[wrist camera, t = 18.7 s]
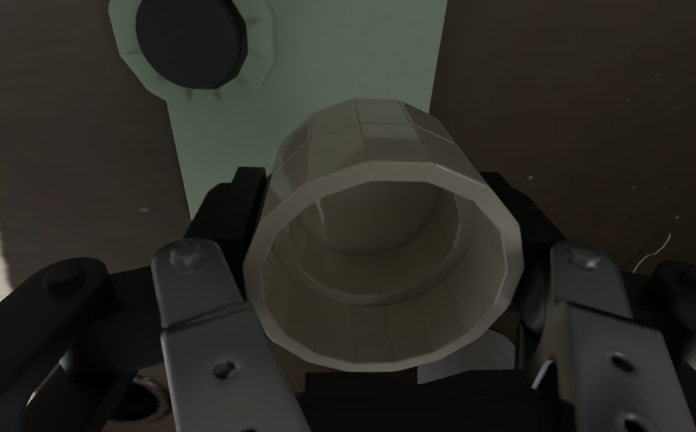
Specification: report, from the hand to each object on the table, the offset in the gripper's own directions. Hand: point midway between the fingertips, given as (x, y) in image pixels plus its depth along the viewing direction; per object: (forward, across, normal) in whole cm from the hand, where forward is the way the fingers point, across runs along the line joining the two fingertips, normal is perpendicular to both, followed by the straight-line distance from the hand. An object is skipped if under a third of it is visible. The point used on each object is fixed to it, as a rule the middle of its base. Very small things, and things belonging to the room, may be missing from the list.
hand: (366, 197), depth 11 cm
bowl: (+1, 0, 0) cm, 1 cm away
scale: (+12, +2, 0) cm, 12 cm away
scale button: (+9, +7, -3) cm, 12 cm away
